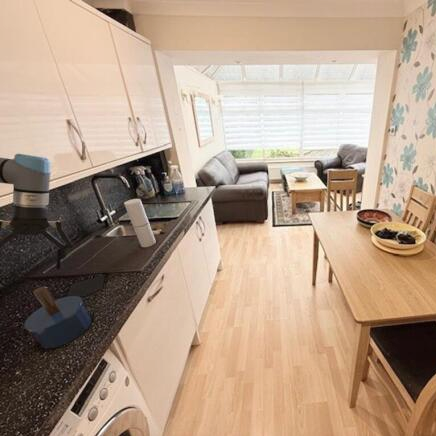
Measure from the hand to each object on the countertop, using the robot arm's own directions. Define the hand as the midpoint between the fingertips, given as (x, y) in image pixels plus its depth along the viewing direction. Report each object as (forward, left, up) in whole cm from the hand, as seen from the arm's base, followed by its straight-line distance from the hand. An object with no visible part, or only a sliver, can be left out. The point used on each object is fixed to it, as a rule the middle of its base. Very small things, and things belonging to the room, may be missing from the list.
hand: (28, 270), depth 76 cm
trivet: (+6, +13, -20) cm, 25 cm away
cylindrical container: (+30, +37, -20) cm, 52 cm away
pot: (+4, -11, -20) cm, 23 cm away
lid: (+4, -11, -12) cm, 17 cm away
